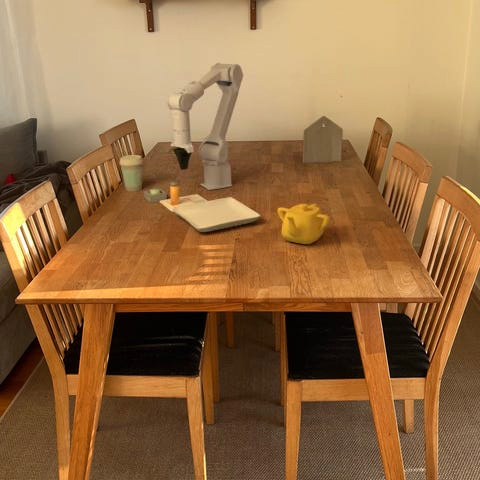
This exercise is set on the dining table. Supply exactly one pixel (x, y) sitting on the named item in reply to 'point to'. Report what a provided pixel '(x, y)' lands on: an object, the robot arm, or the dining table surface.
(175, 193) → the marker
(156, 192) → the button
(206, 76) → the robot arm
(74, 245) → the dining table surface
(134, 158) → the coffee cup
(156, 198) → the button housing
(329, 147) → the grey pentagonal block
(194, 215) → the salad plate
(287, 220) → the teapot
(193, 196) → the sheet
